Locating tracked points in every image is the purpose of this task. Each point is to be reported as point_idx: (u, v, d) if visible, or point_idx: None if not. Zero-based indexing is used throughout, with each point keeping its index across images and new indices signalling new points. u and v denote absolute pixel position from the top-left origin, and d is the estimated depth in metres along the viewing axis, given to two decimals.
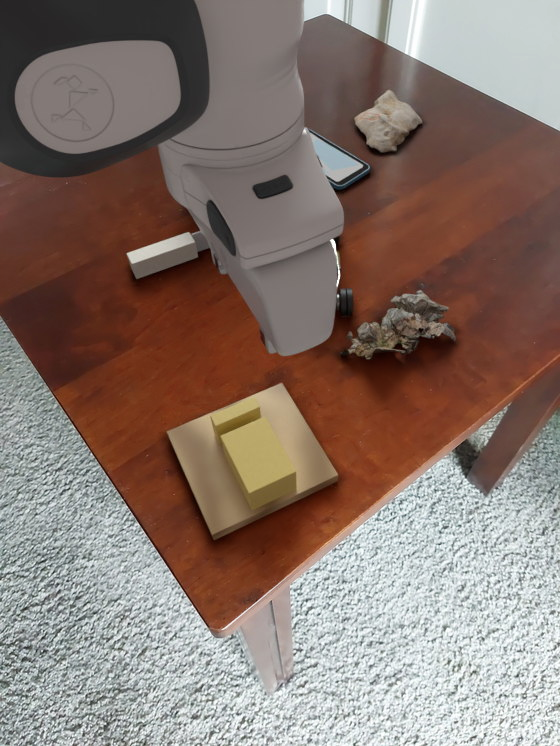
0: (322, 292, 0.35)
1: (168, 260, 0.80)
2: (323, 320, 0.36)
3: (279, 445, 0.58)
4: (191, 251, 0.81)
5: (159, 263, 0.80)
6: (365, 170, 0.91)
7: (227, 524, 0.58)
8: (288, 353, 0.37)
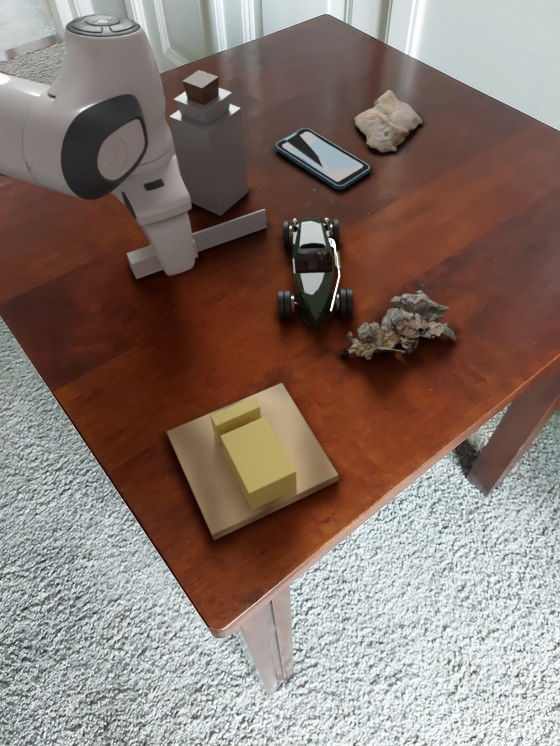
0: (183, 239, 0.68)
1: None
2: (187, 254, 0.69)
3: (279, 445, 0.58)
4: None
5: (159, 263, 0.80)
6: (365, 170, 0.91)
7: (227, 524, 0.58)
8: (170, 273, 0.70)
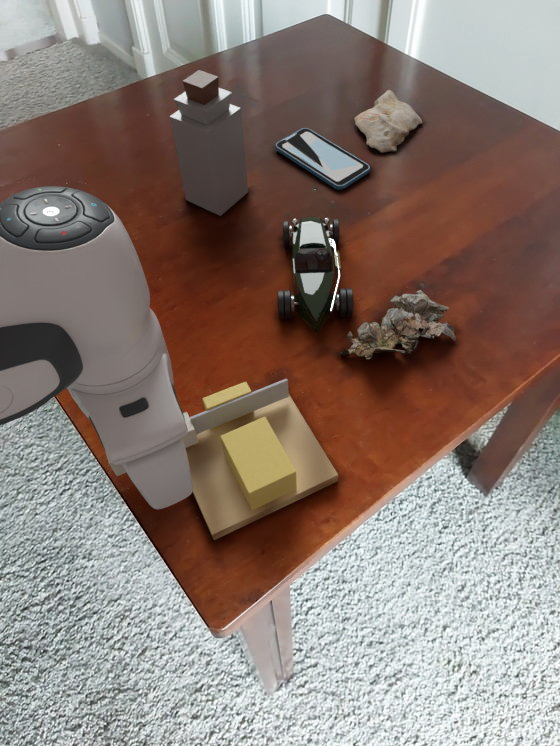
0: (177, 472, 0.48)
1: None
2: (181, 486, 0.50)
3: (279, 445, 0.58)
4: (189, 438, 0.61)
5: None
6: (365, 170, 0.91)
7: (227, 524, 0.58)
8: (158, 508, 0.51)
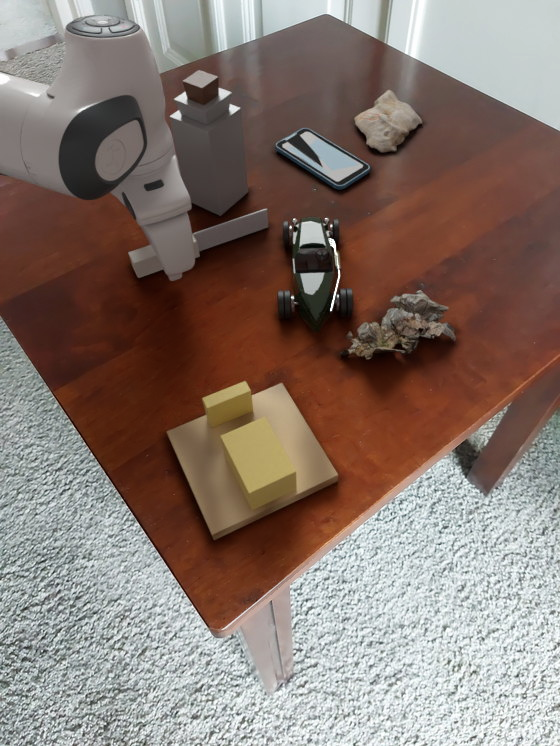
0: (183, 239, 0.68)
1: None
2: (187, 255, 0.69)
3: (279, 445, 0.58)
4: None
5: None
6: (365, 170, 0.91)
7: (227, 524, 0.58)
8: (170, 273, 0.70)
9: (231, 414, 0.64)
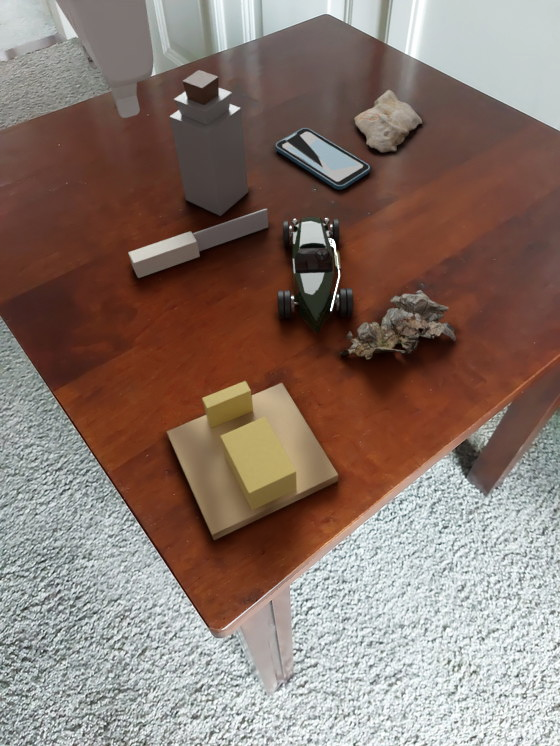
0: (131, 10, 0.41)
1: (169, 259, 0.80)
2: (139, 44, 0.42)
3: (279, 445, 0.58)
4: (193, 250, 0.81)
5: (161, 262, 0.80)
6: (365, 170, 0.91)
7: (227, 524, 0.58)
8: (112, 78, 0.43)
9: (231, 414, 0.64)
